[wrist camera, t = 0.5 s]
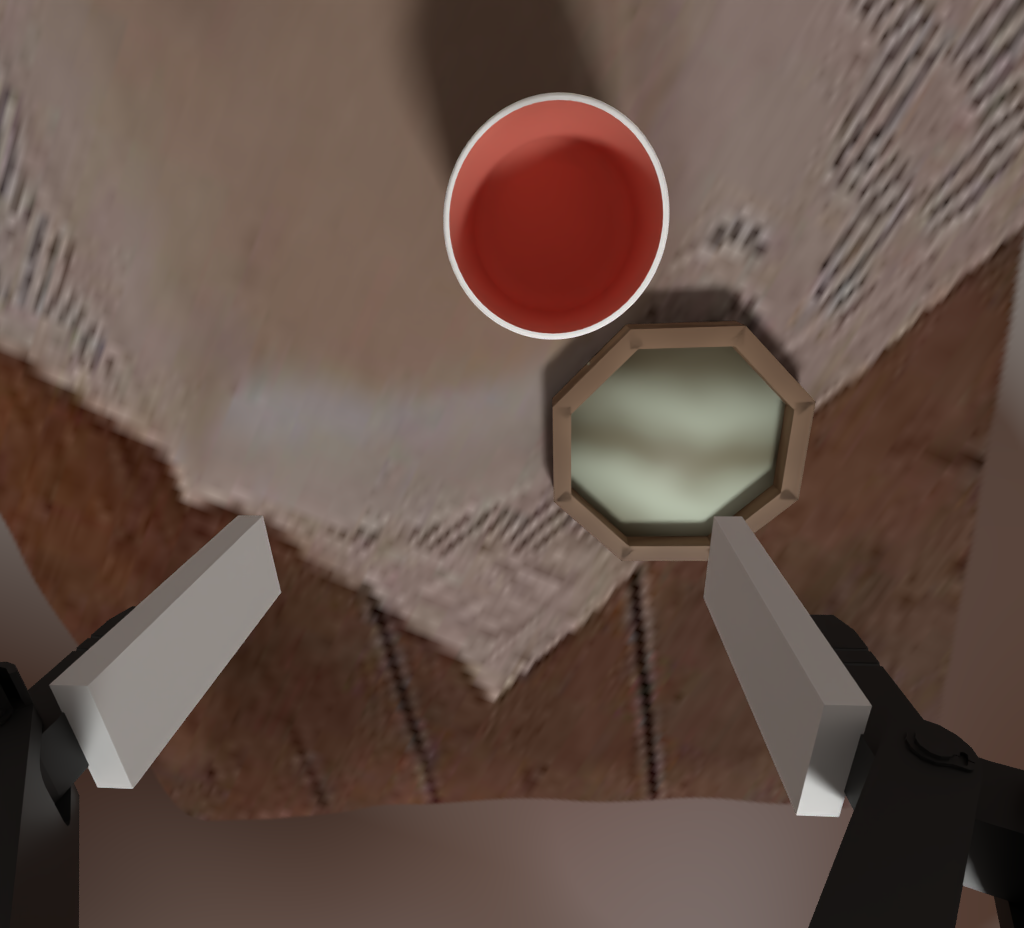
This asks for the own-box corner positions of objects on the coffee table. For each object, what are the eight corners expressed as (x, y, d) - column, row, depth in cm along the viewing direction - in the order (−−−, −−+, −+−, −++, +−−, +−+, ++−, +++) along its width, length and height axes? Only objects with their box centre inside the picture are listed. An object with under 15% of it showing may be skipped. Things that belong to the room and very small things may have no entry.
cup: (508, 105, 31) (490, 47, 22) (666, 178, 32) (713, 152, 22) (449, 277, 35) (413, 290, 25) (592, 338, 35) (607, 372, 26)
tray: (551, 326, 35) (551, 332, 33) (812, 318, 34) (829, 323, 32) (554, 545, 41) (554, 560, 39) (775, 544, 40) (787, 560, 38)
